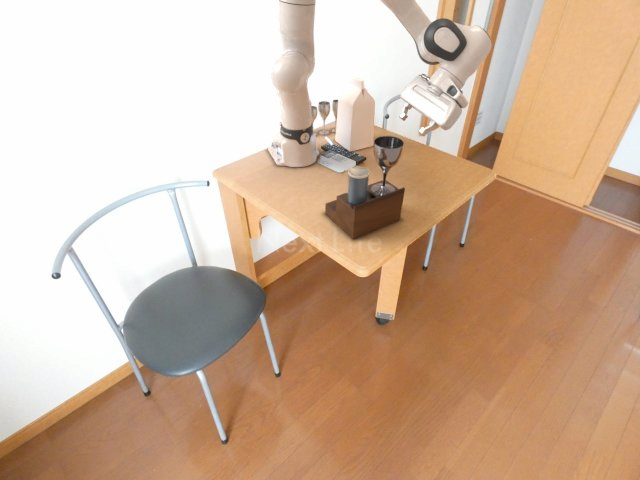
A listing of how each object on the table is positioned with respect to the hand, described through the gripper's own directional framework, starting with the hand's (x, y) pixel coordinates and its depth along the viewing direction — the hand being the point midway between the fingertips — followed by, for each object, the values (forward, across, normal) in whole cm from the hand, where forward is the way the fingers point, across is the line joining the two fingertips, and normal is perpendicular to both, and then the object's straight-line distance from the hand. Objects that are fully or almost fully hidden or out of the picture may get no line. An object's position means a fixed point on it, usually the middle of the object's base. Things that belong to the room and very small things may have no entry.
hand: (411, 126), depth 111 cm
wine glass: (+19, +9, -3) cm, 21 cm away
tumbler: (+24, +9, -11) cm, 28 cm away
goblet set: (+20, -52, +27) cm, 62 cm away
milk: (+19, -38, +25) cm, 49 cm away
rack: (+30, +8, 0) cm, 31 cm away
